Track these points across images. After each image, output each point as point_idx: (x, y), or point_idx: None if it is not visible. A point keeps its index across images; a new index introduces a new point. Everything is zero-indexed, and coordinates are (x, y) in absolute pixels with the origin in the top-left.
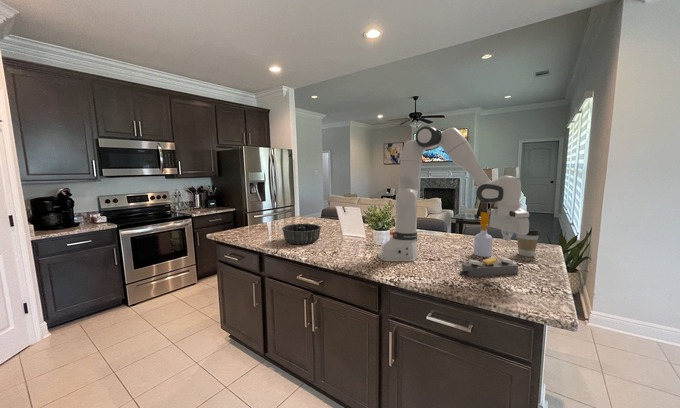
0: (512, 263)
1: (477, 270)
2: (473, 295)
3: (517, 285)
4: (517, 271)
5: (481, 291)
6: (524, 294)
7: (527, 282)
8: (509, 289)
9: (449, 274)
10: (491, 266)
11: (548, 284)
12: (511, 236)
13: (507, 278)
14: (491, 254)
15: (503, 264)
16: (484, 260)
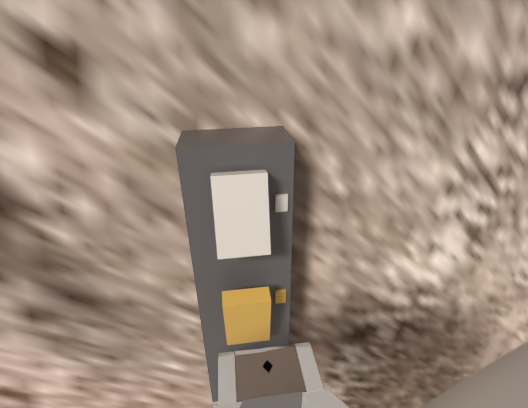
0: (248, 153)
1: None
2: (408, 395)
3: (407, 238)
4: (284, 131)
5: (396, 370)
6: (475, 267)
7: (401, 170)
8: (422, 289)
9: None
10: (276, 306)
11: (465, 78)
12: (341, 401)
13: (328, 229)
14: None
15: None
16: (233, 340)
